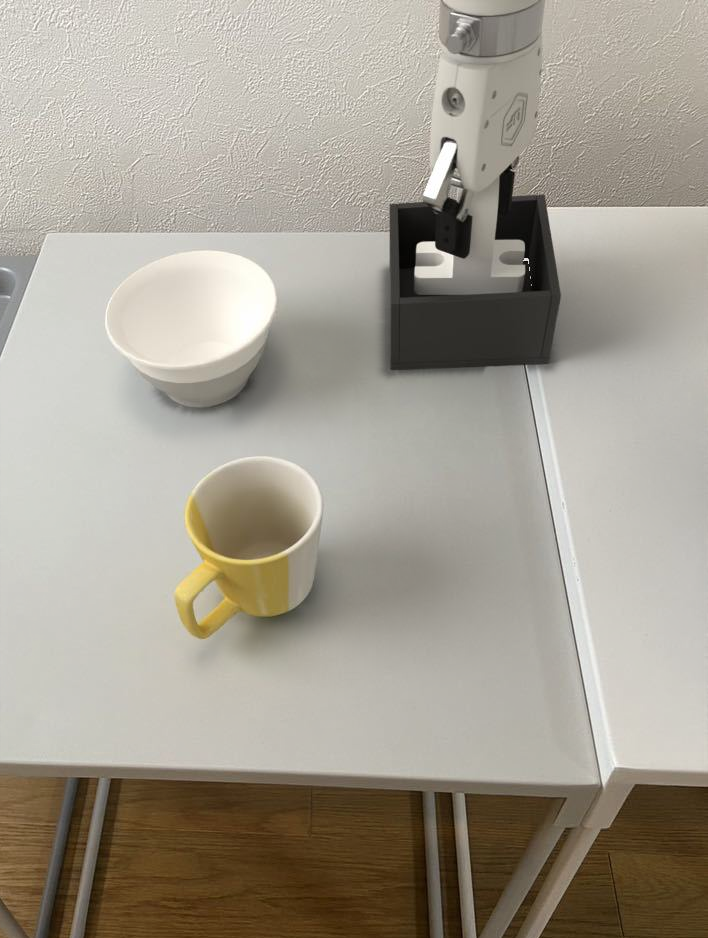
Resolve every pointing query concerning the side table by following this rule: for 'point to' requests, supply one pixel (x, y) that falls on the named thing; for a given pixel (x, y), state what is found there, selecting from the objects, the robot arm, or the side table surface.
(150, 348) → the bowl
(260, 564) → the mug
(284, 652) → the side table surface
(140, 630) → the side table surface
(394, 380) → the side table surface
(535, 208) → the basket
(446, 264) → the cable organizer
